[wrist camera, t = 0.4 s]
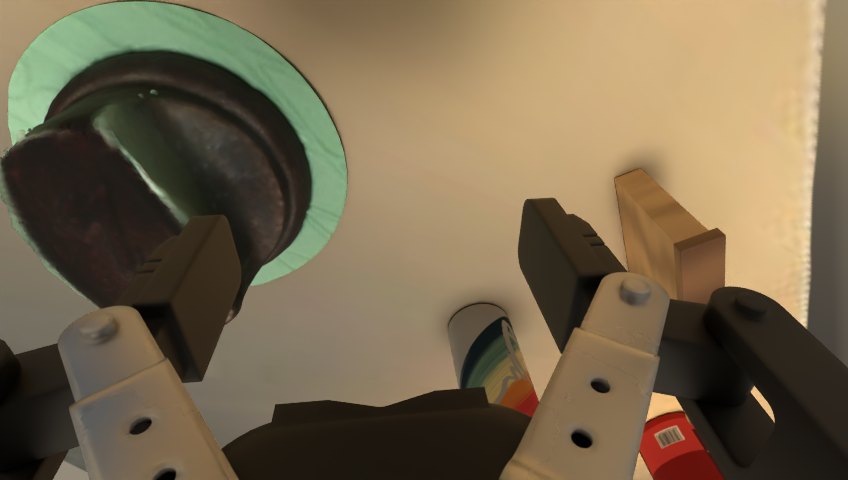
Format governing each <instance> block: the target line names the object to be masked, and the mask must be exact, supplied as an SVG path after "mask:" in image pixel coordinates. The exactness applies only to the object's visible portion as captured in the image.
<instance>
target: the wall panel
mask: <svg viewBox="0 0 848 480" xmlns="http://www.w3.org/2000/svg"><path fill="white" fill-rule="evenodd" d="M615 185H616V191H617V197H618V204H619V210H620V216H621V223H622V229H623V235H624V242H625V248H626V254H627V261H628V267H629V273H635V274H639V275H642V276H645V277H648V278H650V279H652V280H654V281H656V282H657V283H658V284H660V285H661V286H662V287H663V288H664V289H665V290H666V291H667V293H668V295H669V298H670V299H675V300H681V301H688V302H695V303H702V304H707V303H708V301H709V299H710V296H711V294H712V293H713V291H715V290H716V289H718V288H722V287H725V246H726V235H725V234H724V233H723V232H721V231H720V230H719V229H718V228H715V229H712V230H710V231H709V230H707V229H706V228H705V227H704V226H703V225H702V224H701V223H700V222H699V221H698V220H697V219H695V218H694V217H693V216H692V215H691V214H690V213H689V212H688V211H687V210H686V209H684V208H683V207H682V206H681V205H680V204H679V203H678V202H677V201H676V200H675V199H674V198H672V197H671V196H670V195H669V194H668V193H667V192H666V191H665V190H664V189H663V188H662V187H660V186H659V185H658V184H657V183H656V182H655V181H654V180H653V179H652V178H651V177H649V176H648V175H647V174H646V173H645V172H644V171H643V170H642V169H637V170H635V171H632V172H629V173H627V174H624V175H622V176H619V177H617V178H615ZM685 415H686V413H685ZM686 419H687V420H688V422H689V424H690V425H692V423H691V421H690V420H689V418H688V416H687V415H686Z"/></svg>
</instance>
